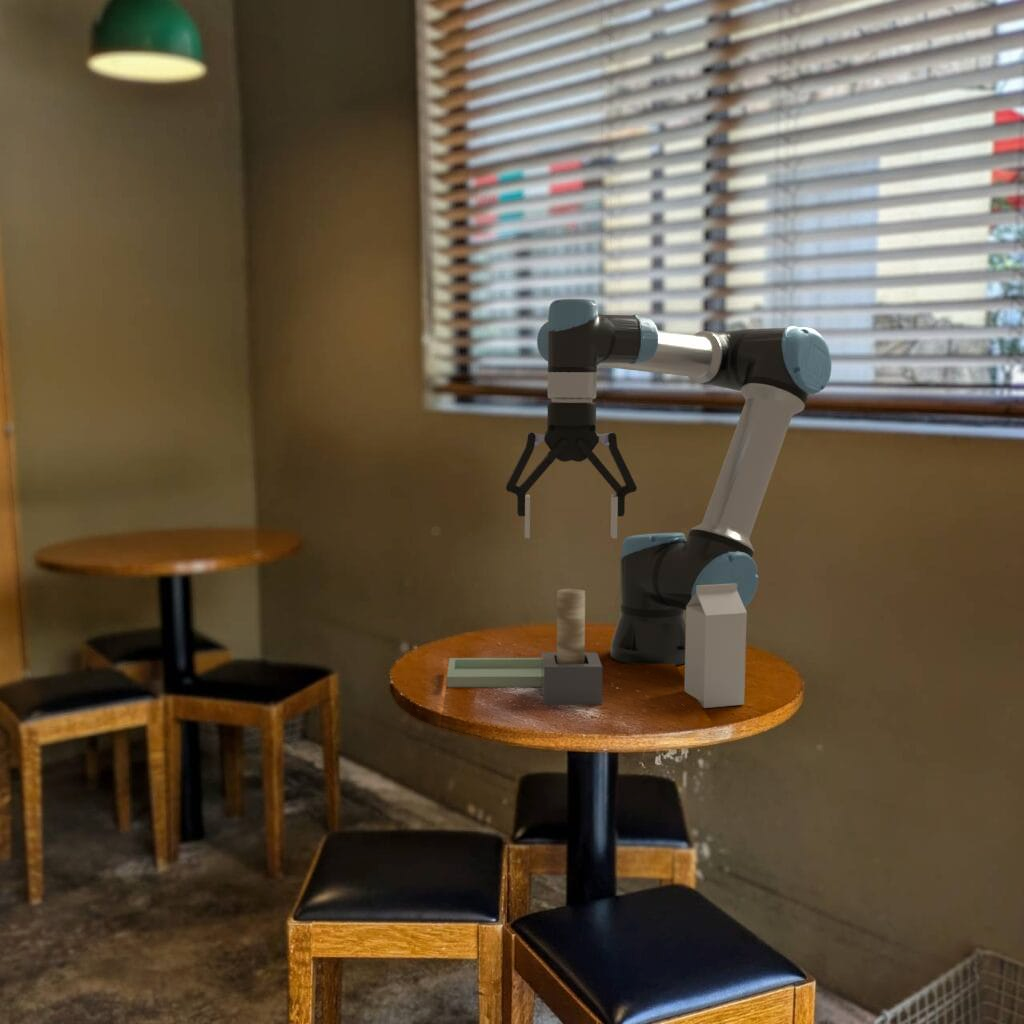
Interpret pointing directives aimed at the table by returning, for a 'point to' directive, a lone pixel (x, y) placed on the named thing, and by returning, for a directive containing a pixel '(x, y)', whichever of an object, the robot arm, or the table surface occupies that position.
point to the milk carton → (715, 646)
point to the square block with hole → (571, 681)
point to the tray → (494, 672)
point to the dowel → (570, 626)
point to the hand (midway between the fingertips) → (570, 537)
